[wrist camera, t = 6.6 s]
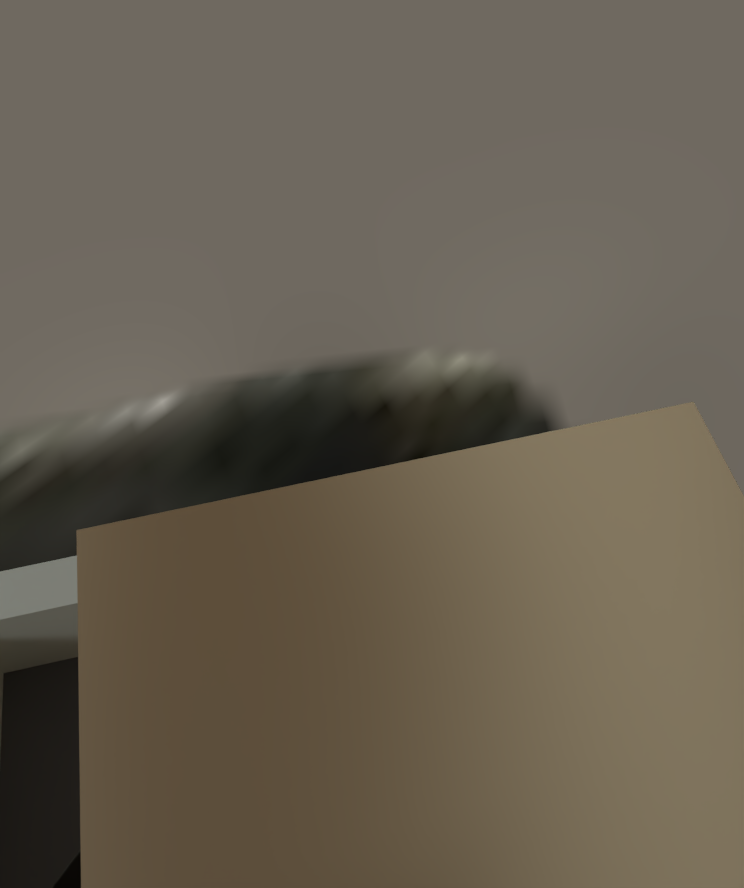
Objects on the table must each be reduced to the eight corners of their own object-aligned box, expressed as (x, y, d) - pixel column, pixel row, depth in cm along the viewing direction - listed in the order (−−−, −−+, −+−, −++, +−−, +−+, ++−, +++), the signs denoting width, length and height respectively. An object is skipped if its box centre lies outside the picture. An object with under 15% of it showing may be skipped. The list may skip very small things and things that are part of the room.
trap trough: (504, 527, 18) (533, 459, 15) (703, 1115, 13) (827, 1233, 9) (-30, 643, 17) (-139, 600, 13) (-74, 1356, 11) (-281, 1604, 8)
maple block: (498, 662, 15) (694, 401, 6) (579, 925, 13) (1159, 1274, 3) (279, 713, 15) (76, 529, 5) (320, 997, 12) (90, 1651, 3)
